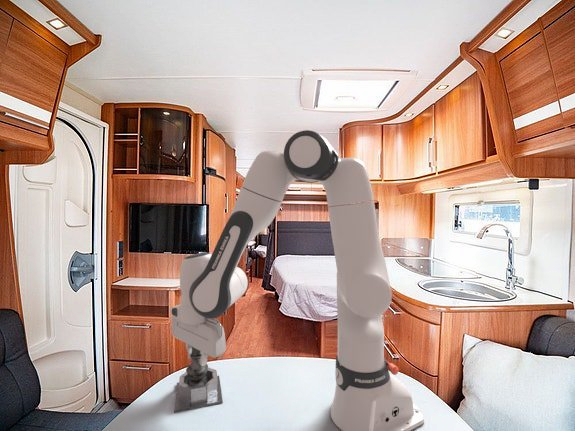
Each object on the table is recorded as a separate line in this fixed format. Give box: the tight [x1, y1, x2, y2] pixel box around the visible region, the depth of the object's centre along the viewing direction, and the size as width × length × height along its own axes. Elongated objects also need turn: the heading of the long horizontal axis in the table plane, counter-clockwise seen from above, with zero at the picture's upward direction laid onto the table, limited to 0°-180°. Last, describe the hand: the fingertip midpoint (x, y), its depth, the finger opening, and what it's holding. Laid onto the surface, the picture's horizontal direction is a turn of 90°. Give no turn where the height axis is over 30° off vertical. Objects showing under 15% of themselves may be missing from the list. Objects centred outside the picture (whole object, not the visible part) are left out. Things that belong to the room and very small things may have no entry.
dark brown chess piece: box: [185, 347, 209, 386], centre depth 80 cm, size 6×6×12 cm
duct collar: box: [173, 366, 224, 413], centre depth 81 cm, size 12×12×5 cm
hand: (197, 361), depth 80 cm, fingers closed on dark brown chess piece, 3 cm apart
